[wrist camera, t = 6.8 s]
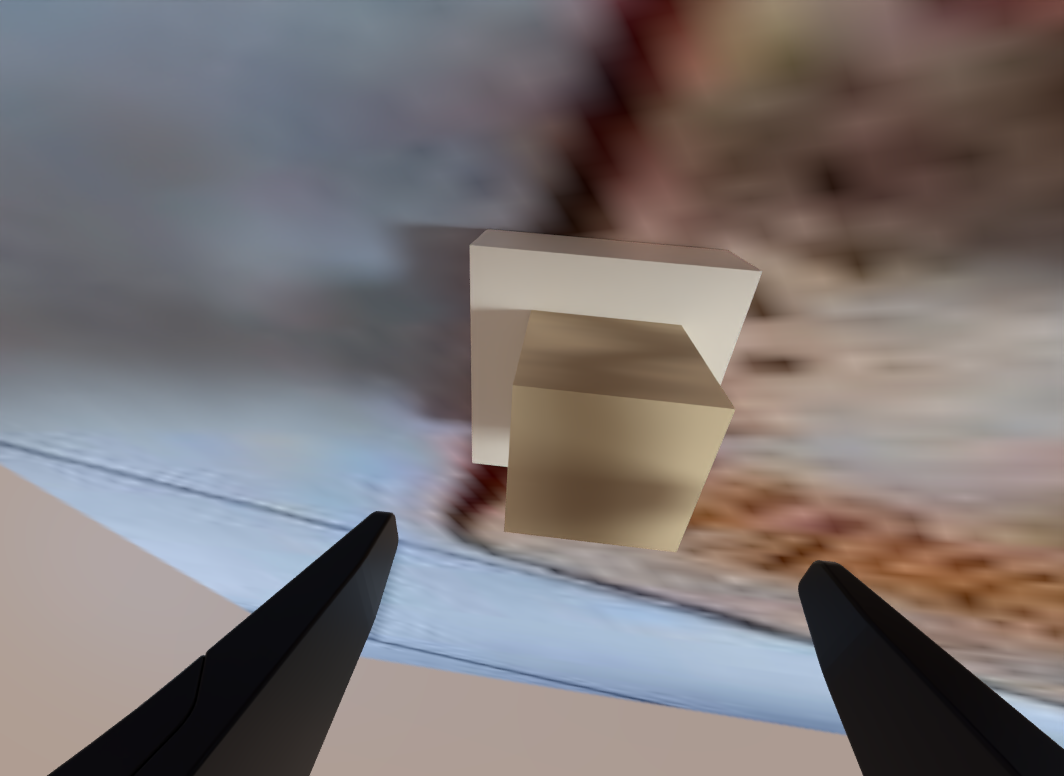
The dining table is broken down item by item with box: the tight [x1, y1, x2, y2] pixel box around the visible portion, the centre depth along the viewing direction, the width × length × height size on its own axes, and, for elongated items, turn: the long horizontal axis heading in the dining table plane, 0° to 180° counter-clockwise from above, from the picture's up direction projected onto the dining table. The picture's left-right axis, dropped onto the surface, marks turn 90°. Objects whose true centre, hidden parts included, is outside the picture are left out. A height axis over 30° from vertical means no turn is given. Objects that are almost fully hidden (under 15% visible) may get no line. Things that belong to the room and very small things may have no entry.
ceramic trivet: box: [470, 229, 762, 467], centre depth 16 cm, size 9×9×3 cm
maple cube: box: [504, 310, 735, 552], centre depth 12 cm, size 5×5×5 cm
